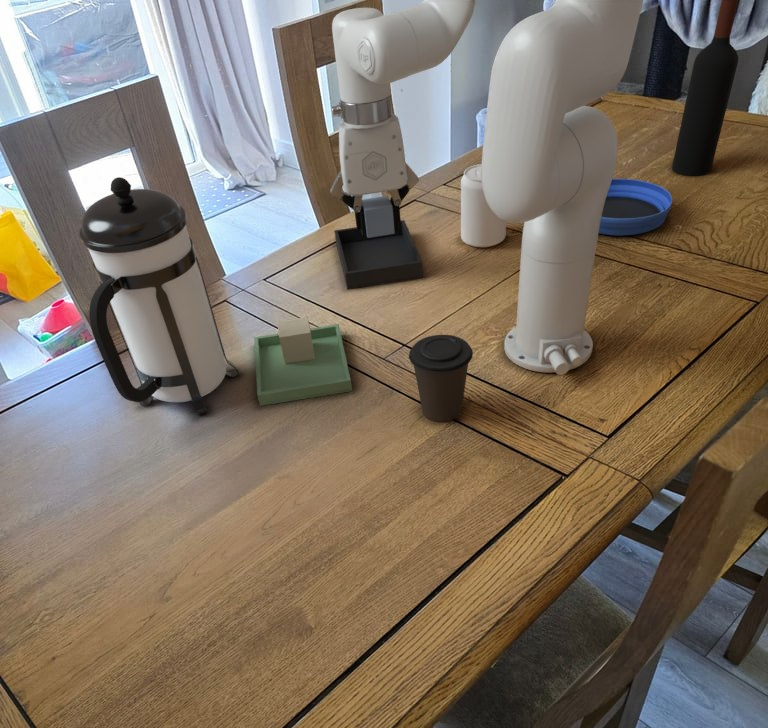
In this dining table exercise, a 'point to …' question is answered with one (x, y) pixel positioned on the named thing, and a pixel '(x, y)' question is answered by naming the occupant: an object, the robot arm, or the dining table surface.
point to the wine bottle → (707, 98)
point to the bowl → (634, 207)
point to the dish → (301, 368)
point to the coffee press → (152, 297)
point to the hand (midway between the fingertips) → (378, 229)
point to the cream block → (296, 340)
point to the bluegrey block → (378, 216)
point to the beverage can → (478, 213)
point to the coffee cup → (441, 375)
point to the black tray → (377, 257)
